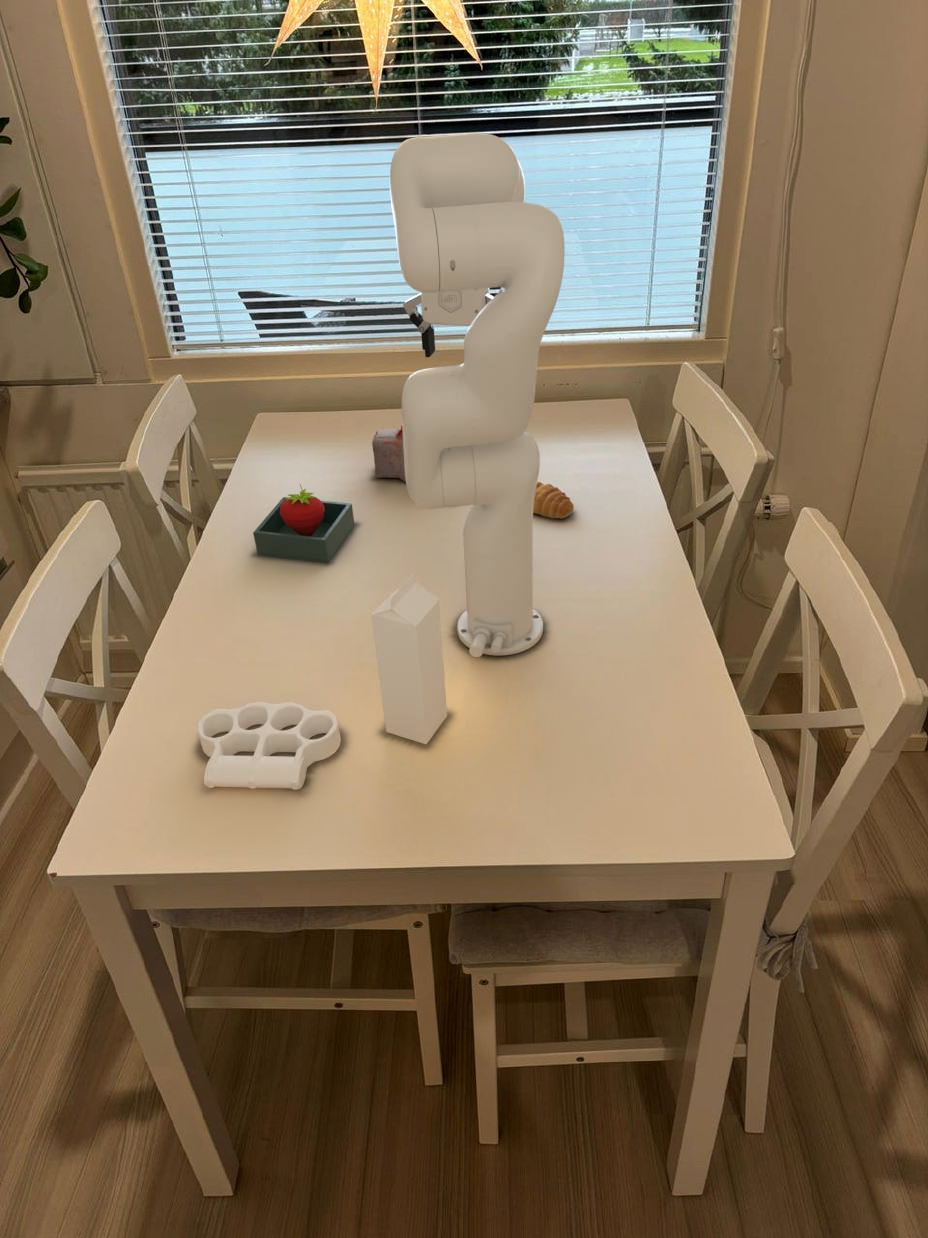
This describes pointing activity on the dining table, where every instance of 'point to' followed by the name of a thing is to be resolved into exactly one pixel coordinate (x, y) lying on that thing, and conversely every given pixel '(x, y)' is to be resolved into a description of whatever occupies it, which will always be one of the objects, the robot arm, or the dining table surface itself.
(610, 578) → the dining table surface
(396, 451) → the food item
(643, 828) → the dining table surface
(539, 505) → the pastry
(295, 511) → the strawberry
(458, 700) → the dining table surface
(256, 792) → the dining table surface
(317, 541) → the open box
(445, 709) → the milk
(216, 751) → the white brass knuckles
